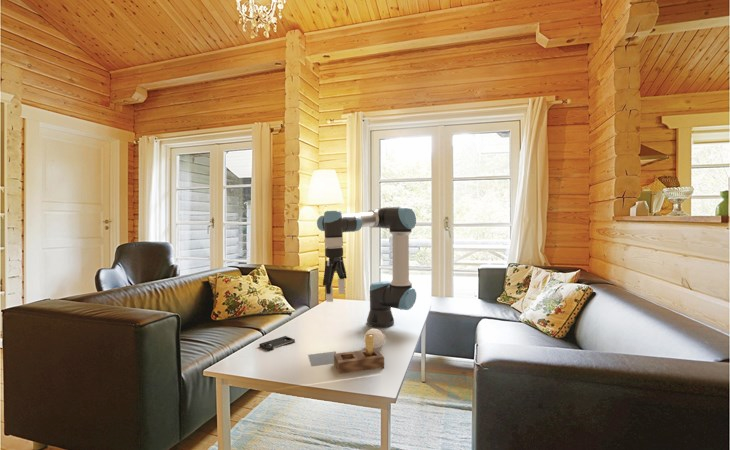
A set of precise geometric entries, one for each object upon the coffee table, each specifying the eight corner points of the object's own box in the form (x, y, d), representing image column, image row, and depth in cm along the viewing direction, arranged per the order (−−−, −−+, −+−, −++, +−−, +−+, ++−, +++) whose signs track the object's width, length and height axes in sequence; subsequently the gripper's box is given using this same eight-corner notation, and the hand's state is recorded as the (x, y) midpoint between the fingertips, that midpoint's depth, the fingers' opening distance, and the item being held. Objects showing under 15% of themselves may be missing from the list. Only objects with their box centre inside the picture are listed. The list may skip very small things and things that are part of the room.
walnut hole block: (377, 359, 141) (376, 348, 141) (384, 368, 132) (384, 356, 132) (334, 364, 136) (334, 353, 136) (338, 374, 127) (338, 362, 127)
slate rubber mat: (335, 352, 149) (335, 351, 149) (341, 363, 137) (341, 362, 137) (308, 355, 145) (308, 354, 145) (311, 367, 134) (311, 366, 134)
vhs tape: (268, 352, 151) (268, 348, 151) (259, 348, 156) (259, 343, 156) (295, 343, 161) (295, 339, 161) (285, 339, 166) (285, 335, 166)
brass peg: (372, 363, 137) (372, 333, 137) (374, 366, 134) (374, 336, 134) (364, 364, 136) (364, 334, 136) (366, 367, 133) (366, 337, 133)
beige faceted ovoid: (377, 350, 146) (392, 345, 155) (373, 328, 148) (388, 324, 158) (362, 352, 151) (377, 347, 160) (358, 331, 153) (373, 327, 163)
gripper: (336, 244, 156) (338, 290, 157) (312, 250, 132) (315, 304, 133) (352, 244, 154) (354, 291, 154) (330, 250, 130) (332, 305, 130)
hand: (336, 297), depth 144 cm, fingers open, 13 cm apart
